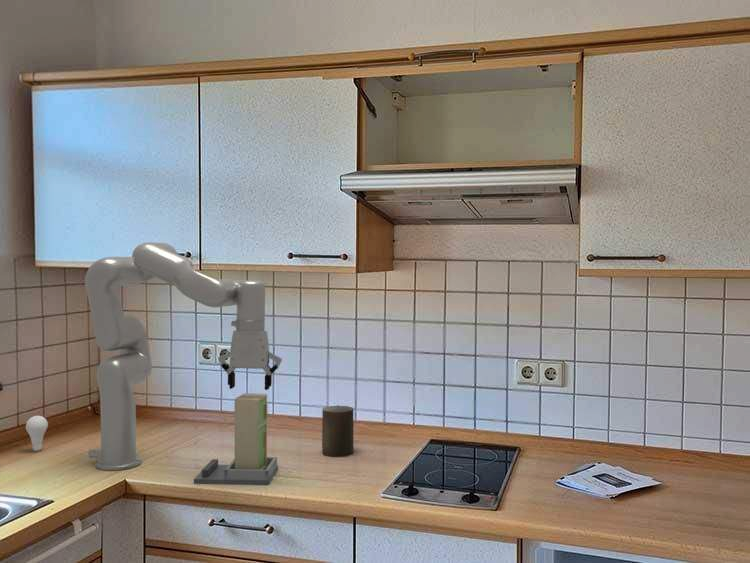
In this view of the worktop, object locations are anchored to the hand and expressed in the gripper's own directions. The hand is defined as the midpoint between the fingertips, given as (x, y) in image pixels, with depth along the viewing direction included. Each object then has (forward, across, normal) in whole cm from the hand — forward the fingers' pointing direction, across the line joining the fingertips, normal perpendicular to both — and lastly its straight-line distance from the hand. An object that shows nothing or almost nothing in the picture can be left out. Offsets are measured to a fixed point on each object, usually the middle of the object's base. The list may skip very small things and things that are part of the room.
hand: (249, 388), depth 189 cm
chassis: (+24, -3, 0) cm, 25 cm away
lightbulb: (+26, -71, +21) cm, 78 cm away
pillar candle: (+24, +22, +25) cm, 41 cm away
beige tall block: (+23, +1, 0) cm, 23 cm away
